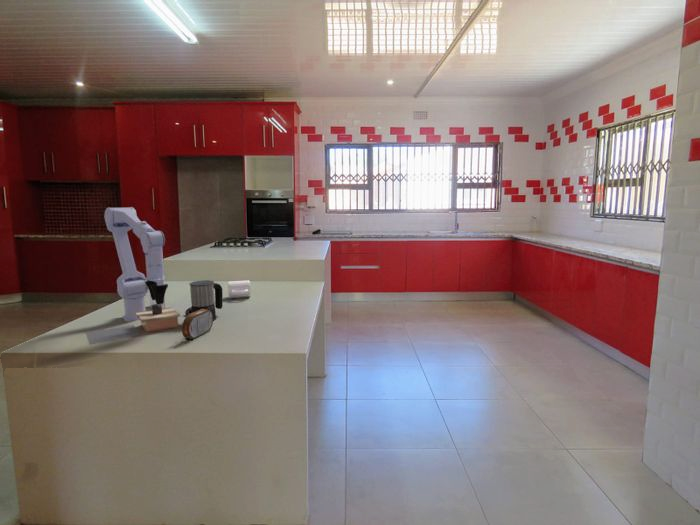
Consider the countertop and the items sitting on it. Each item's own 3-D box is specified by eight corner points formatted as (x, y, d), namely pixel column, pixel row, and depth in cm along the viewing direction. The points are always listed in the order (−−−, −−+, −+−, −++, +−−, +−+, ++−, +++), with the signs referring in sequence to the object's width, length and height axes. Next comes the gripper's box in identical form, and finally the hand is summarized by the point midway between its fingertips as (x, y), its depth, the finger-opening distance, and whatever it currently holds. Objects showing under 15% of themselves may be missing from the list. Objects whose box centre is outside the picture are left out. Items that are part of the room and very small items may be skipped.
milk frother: (208, 323, 157) (206, 285, 155) (171, 321, 160) (168, 283, 158) (226, 313, 171) (225, 278, 169) (192, 311, 174) (190, 277, 172)
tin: (207, 328, 151) (206, 305, 150) (215, 328, 151) (214, 306, 149) (181, 342, 137) (180, 317, 136) (190, 342, 136) (188, 317, 135)
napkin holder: (168, 311, 176) (167, 298, 175) (139, 313, 174) (138, 300, 173) (176, 303, 191) (175, 291, 190) (149, 304, 188) (148, 292, 187)
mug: (228, 296, 202) (227, 280, 201) (249, 294, 205) (248, 278, 204) (229, 302, 190) (228, 285, 189) (251, 300, 193) (250, 283, 192)
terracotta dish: (141, 326, 154) (140, 314, 153) (171, 321, 160) (170, 310, 159) (147, 333, 146) (146, 321, 145) (178, 328, 152) (177, 316, 151)
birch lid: (135, 314, 153) (134, 304, 153) (171, 309, 161) (170, 299, 160) (142, 322, 143) (141, 311, 143) (180, 316, 151) (179, 305, 150)
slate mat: (86, 334, 146) (85, 332, 146) (133, 326, 154) (133, 324, 154) (90, 345, 134) (89, 344, 134) (141, 336, 143) (141, 335, 142)
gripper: (138, 263, 153) (141, 299, 155) (146, 268, 141) (149, 307, 143) (159, 261, 157) (162, 296, 159) (168, 266, 145) (171, 304, 147)
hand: (157, 301), depth 151 cm, fingers open, 7 cm apart
